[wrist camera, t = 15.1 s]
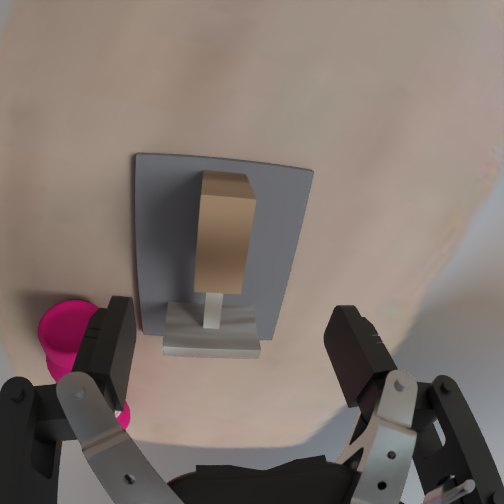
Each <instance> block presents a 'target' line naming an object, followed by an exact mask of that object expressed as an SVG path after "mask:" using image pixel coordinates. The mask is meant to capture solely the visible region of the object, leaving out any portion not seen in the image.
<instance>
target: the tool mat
mask: <svg viewBox="0 0 504 504" xmlns="http://www.w3.org/2000/svg"><path fill="white" fill-rule="evenodd" d="M204 170H209V171H220V172H230V173H240V174H246V175H247V178H248V180H249V183H250V185H251V187H252V190H253V192H254V195H255V197H256V206H255V212H254V218H253V224H252V230H251V236H250V242H249V248H248V254H247V260H246V266H245V272H244V278H243V284H242V290H241V294H223V300H222V305H242V306H252V308H253V313H254V318H255V323H256V328H257V333H258V338H259V340H272V338H273V334H274V331H275V327H276V324H277V320H278V316H279V313H280V309H281V305H282V302H283V298H284V294H285V290H286V286H287V283H288V279H289V275H290V271H291V267H292V263H293V259H294V255H295V251H296V247H297V243H298V239H299V235H300V231H301V227H302V223H303V218H304V214H305V210H306V205H307V201H308V197H309V192H310V188H311V183H312V179H313V174H314V171H312V170H310V169H304V168H298V167H291V166H284V165H277V164H270V163H262V162H254V161H246V160H237V159H227V158H217V157H205V156H193V155H178V154H160V153H137V154H136V174H135V229H136V255H137V272H138V286H139V297H140V308H141V317H142V326H143V334H145V335H156V336H164V329H165V322H166V315H167V308H168V301H171V302H185V303H201V304H204V303H205V293H204V292H194V283H195V266H196V250H197V236H198V223H199V211H200V200H201V190H202V180H203V171H204Z"/></svg>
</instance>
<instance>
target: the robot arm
mask: <svg viewBox="0 0 504 504" xmlns="http://www.w3.org/2000/svg"><path fill="white" fill-rule="evenodd" d="M382 342H383V341H382V340H381V338H380V336H378V333H377V331H376V329H375V327H374V326H373V324H371V323H370V322H369V321H368V320H367V319H366V318H365V317H361V315H360V313H359V312H358V310H357V308H356V307H355V306H354V305H338V306H336V307H335V308H334V310H333V313H332V315H331V318H330V320H329V323H328V325H327V327H326V330H325V333H324V345H325V348H326V350H327V353H328V355H329V358H330V360H331V363H332V366H333V368H334V371H335V373H336V376H337V378H338V381H339V384H340V386H341V389H342V392H343V394H344V397H345V399H346V402H347V405H348V407H349V408H351V407H357V406H359V408H360V412H359V413H358V415H357V417H356V420H355V423H354V426H353V428H352V431H351V433H350V435H349V438H348V440H347V443H346V445H345V447H344V450H343V451H342V453H341V454H340V456H339V457H338V458H337V460H336V462H335V463H333V462H327V461H326V458H325V455H322V456H316V457H309V458H303V459H296V460H293V461H291V462H288V463H285V464H283V465H280V466H277V467H274V468H271V469H268V470H256V469H249V468H243V467H237V466H232V465H196V471H195V472H190V473H187V474H184V475H181V476H179V477H176V478H175V479H173V480H171V481H169V482H168V483H166V482H165V481H164V480H163V479H162V478H161V477H160V475H159V474H158V473H157V472H156V470H155V469H154V468H153V467H152V465H151V464H150V463H149V461H148V460H147V459H146V458H145V456H144V455H143V454H142V452H141V451H140V450H139V448H138V447H137V445H136V444H135V443H134V441H133V440H132V438H131V437H130V436H129V434H128V433H127V432H126V430H124V429H123V427H122V426H121V425H120V423H119V422H118V420H117V418H116V417H115V411H122V412H124V406H125V399H126V393H127V386H128V380H129V375H130V369H131V363H132V358H133V353H134V348H135V343H136V322H135V315H134V307H133V300H132V298H131V297H123V296H112V297H111V300H110V302H109V305H108V308H107V309H105V308H98V309H97V311H96V312H95V313H94V314H93V315H92V316H91V317H90V319H89V322H88V324H87V329H86V330H85V333H84V335H83V338H82V341H81V344H80V346H79V349H78V352H77V355H76V358H75V361H74V364H73V367H72V370H71V372H70V373H68V374H66V375H64V376H63V377H62V378H61V379H60V380H59V382H58V383H56V384H52V385H42V386H33V385H32V383H31V382H30V381H29V380H28V379H26V378H24V377H13V378H11V379H9V380H8V381H7V382H5V384H4V385H3V386H2V388H1V391H0V504H57V492H58V477H59V465H60V456H61V447H62V441H66V440H76V439H78V441H79V442H80V445H81V447H82V452H83V454H84V456H85V458H86V460H87V462H88V463H89V465H90V467H91V468H92V470H93V472H94V473H95V475H96V476H97V478H98V480H99V481H100V483H101V484H102V486H103V487H104V489H105V490H106V492H107V493H108V494H109V496H110V497H111V499H112V500H113V502H114V503H115V504H404V503H402V502H401V501H400V499H401V496H402V492H403V489H404V486H405V482H406V479H407V475H408V472H409V468H410V464H411V460H412V458H413V461H414V464H415V466H416V470H417V473H418V476H419V479H420V482H421V485H422V488H423V491H424V495H425V498H424V501H423V504H504V486H503V483H502V481H501V478H500V475H499V473H498V470H497V468H496V465H495V463H494V460H493V458H492V455H491V453H490V451H489V449H488V446H487V444H486V442H485V439H484V437H483V435H482V433H481V431H480V428H479V426H478V424H477V422H476V420H475V418H474V416H473V414H472V412H471V410H470V408H469V406H468V404H467V402H466V400H465V398H464V396H463V394H462V393H461V391H460V389H459V387H458V385H457V383H456V382H455V381H454V380H453V379H451V378H450V377H448V376H445V375H440V376H437V377H436V378H435V379H434V381H433V382H432V383H423V382H416V380H415V379H414V378H413V376H411V375H410V374H409V373H407V372H405V371H403V370H398V369H397V367H396V365H395V363H394V361H393V359H392V358H391V356H390V354H389V352H388V350H387V349H386V347H385V345H384V343H382ZM437 419H438V421H439V423H440V425H441V428H442V430H443V432H444V435H445V438H446V441H445V445H444V446H442V443H441V441H440V438H439V436H438V434H437V431H436V429H435V426H434V424H433V422H435V421H436V420H437Z"/></svg>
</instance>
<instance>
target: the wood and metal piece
mask: <svg viewBox="0 0 504 504" xmlns="http://www.w3.org/2000/svg"><path fill="white" fill-rule="evenodd" d="M255 206H256V197H255V195H254V192H253V190H252V187H251V185H250V183H249V180H248V178H247V175H246V174H240V173H230V172H220V171H209V170H204V171H203V180H202V190H201V200H200V211H199V223H198V236H197V250H196V266H195V283H194V292H204V293H205V303H204V304H201V303H185V302H171V301H168V308H167V315H166V322H165V329H164V337H163V345H162V348H163V355H168V356H182V357H201V358H234V359H259V355H260V351H261V348H260V343H259V338H258V333H257V328H256V323H255V318H254V313H253V308H252V306H242V305H222V300H223V294H241V290H242V284H243V278H244V272H245V266H246V260H247V254H248V248H249V242H250V236H251V230H252V224H253V218H254V212H255Z"/></svg>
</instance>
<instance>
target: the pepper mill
mask: <svg viewBox="0 0 504 504" xmlns="http://www.w3.org/2000/svg"><path fill="white" fill-rule="evenodd" d="M97 309H98V307H97V306H95V305H94V304H92V303H89V302H87V301H82V300H69V301H64V302H61V303H59V304H56V305H54V306H53V307H52V308H50V309H49V310H48V311H47V312H46V313H45V314H44V315H43V317H42V318H41V320H40V322H39V326H38V337H39V340H40V343H41V345H42V347H43V349H44V351H45V353H46V362H47V367H48V370H49V372H50V374H51V376H52V377H53V378H54V380H55V381H56V382H57V383H58V382H59V380H60V379H61V378H62V377H63V376H64V375H66V374H68V373H70V372H71V370H72V367H73V364H74V361H75V358H76V355H77V352H78V349H79V346H80V344H81V341H82V338H83V335H84V333H85V330H86V329H87V324H88V322H89V319H90V317H91V316H92V315H93V314H94V313H95V312H96V311H97ZM115 417H116V418H117V420H118V422H119V423H120V425H121V426H122V427H123V429H124V430H125V429H126V428H127V426H128V424H129V422H130V409H129V406H128V404H127V402H126V401H125V406H124V412H122V411H115Z"/></svg>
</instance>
